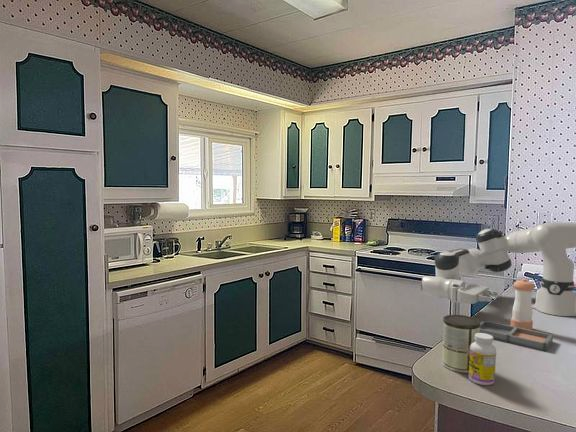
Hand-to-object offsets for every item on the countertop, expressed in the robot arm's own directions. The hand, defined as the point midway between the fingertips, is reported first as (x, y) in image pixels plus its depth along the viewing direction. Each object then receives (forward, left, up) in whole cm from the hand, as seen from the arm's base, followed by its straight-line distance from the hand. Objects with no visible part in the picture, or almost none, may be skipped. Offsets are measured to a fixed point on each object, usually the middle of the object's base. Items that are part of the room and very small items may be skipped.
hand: (494, 297), depth 169 cm
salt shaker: (0, +10, -10) cm, 15 cm away
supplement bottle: (+57, +12, -10) cm, 59 cm away
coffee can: (+51, +4, -10) cm, 52 cm away
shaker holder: (+14, +10, -10) cm, 20 cm away
